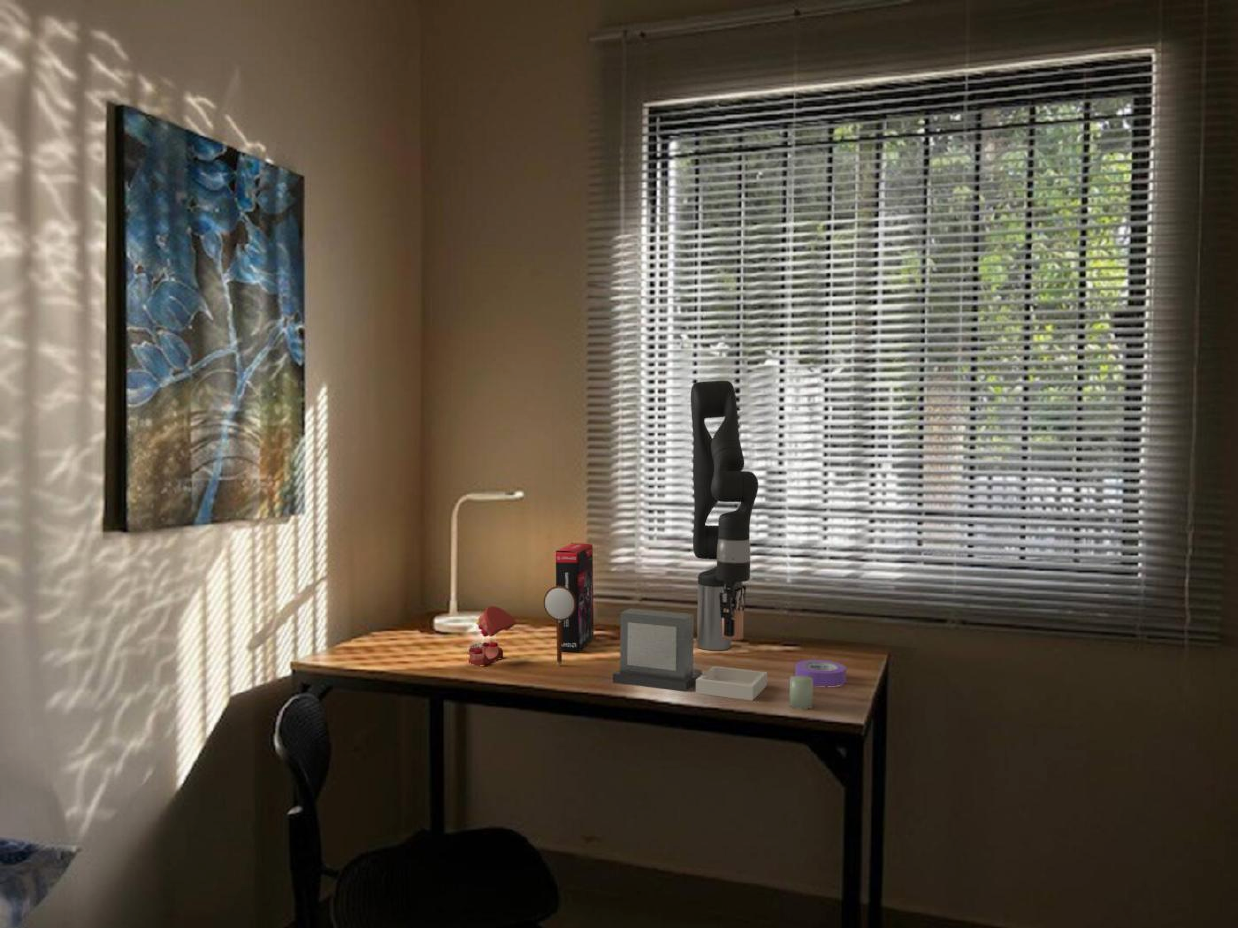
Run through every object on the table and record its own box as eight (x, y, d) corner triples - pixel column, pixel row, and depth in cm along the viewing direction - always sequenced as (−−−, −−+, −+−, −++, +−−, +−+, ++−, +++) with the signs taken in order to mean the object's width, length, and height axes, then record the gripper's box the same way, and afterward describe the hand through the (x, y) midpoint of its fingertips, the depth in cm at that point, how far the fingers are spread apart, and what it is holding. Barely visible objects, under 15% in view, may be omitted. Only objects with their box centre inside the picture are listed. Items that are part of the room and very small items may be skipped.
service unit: (632, 669, 221) (632, 605, 221) (702, 678, 214) (703, 611, 214) (612, 681, 210) (613, 613, 210) (685, 691, 203) (686, 620, 203)
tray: (712, 679, 214) (713, 666, 213) (766, 685, 208) (767, 672, 208) (695, 693, 202) (695, 679, 201) (752, 700, 196) (752, 686, 196)
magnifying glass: (576, 666, 224) (577, 586, 223) (574, 668, 222) (574, 587, 222) (544, 663, 227) (545, 584, 226) (542, 664, 225) (542, 585, 225)
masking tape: (852, 688, 208) (853, 671, 208) (803, 689, 207) (803, 672, 207) (836, 675, 219) (836, 659, 219) (789, 675, 218) (789, 659, 218)
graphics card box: (579, 653, 237) (580, 550, 236) (553, 652, 239) (554, 549, 238) (594, 639, 254) (595, 543, 253) (570, 638, 255) (571, 542, 254)
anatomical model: (475, 651, 235) (494, 600, 233) (500, 665, 233) (520, 614, 230) (454, 661, 226) (474, 608, 223) (480, 676, 223) (501, 622, 220)
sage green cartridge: (792, 701, 196) (792, 674, 196) (814, 704, 194) (814, 676, 194) (787, 707, 192) (787, 679, 191) (810, 710, 190) (810, 682, 189)
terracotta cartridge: (725, 634, 208) (725, 608, 208) (745, 636, 206) (745, 610, 206) (719, 638, 203) (719, 611, 203) (739, 640, 201) (740, 613, 201)
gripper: (741, 564, 196) (739, 641, 197) (757, 556, 209) (756, 629, 210) (708, 561, 199) (707, 638, 199) (726, 554, 212) (725, 626, 213)
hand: (732, 633), depth 205 cm, fingers closed on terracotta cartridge, 4 cm apart
